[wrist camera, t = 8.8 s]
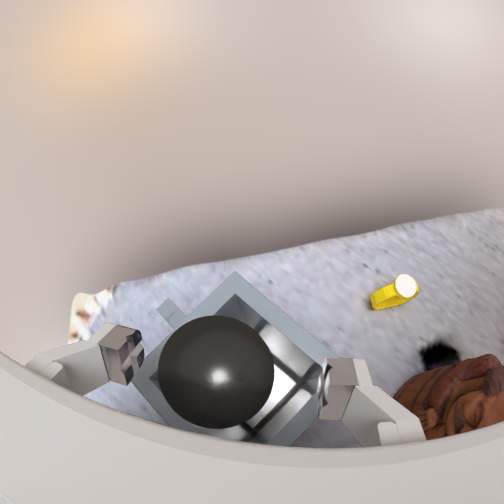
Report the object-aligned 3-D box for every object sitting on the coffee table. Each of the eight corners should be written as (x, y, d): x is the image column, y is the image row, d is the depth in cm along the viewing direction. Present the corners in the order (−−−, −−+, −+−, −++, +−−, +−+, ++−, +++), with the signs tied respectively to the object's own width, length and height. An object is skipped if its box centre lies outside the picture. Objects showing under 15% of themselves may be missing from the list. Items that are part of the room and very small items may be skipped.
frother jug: (241, 306, 34) (218, 225, 18) (329, 380, 29) (390, 364, 14) (169, 376, 30) (84, 353, 15) (256, 457, 25) (243, 519, 10)
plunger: (250, 344, 29) (215, 243, 10) (295, 383, 26) (358, 361, 8) (208, 386, 27) (91, 363, 8) (253, 427, 24) (219, 502, 6)
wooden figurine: (381, 383, 28) (480, 362, 12) (425, 369, 28) (530, 333, 12) (391, 471, 22) (484, 512, 7) (435, 453, 22) (537, 467, 7)
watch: (401, 289, 34) (423, 269, 28) (406, 309, 32) (431, 292, 27) (362, 296, 33) (381, 277, 28) (367, 318, 32) (388, 301, 27)
